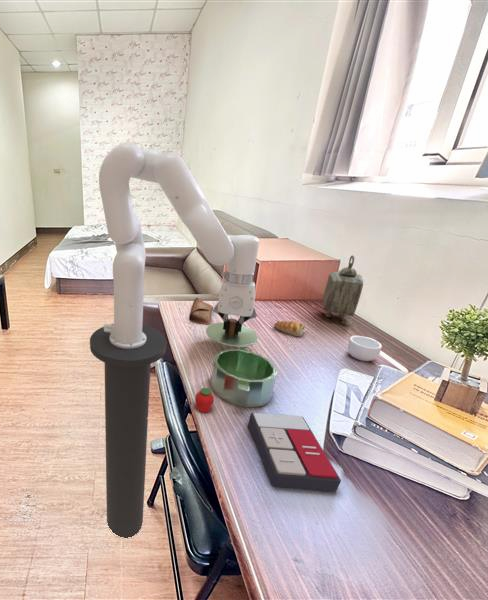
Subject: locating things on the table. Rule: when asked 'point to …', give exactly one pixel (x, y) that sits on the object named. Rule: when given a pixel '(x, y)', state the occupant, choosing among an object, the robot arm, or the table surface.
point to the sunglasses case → (200, 312)
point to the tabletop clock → (343, 292)
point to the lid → (231, 334)
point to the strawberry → (204, 400)
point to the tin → (243, 377)
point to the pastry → (290, 327)
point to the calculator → (292, 453)
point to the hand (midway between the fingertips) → (231, 332)
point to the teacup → (363, 348)
